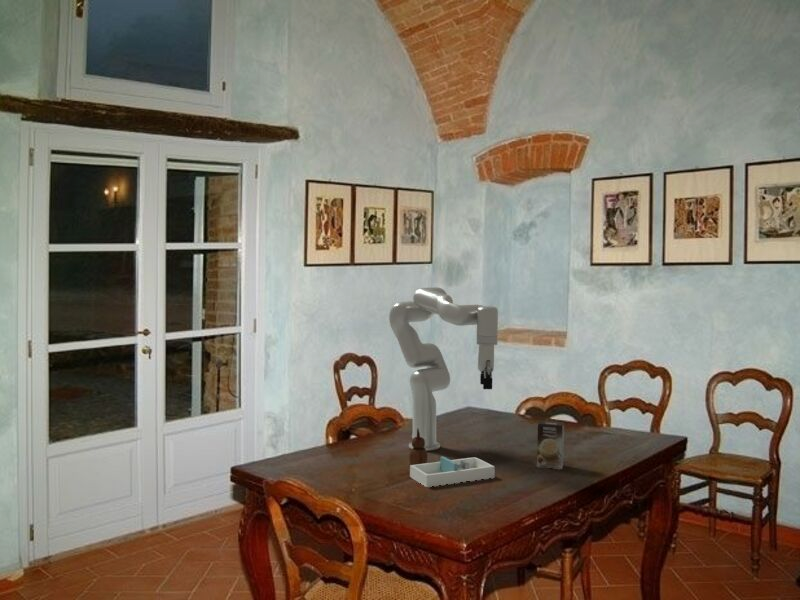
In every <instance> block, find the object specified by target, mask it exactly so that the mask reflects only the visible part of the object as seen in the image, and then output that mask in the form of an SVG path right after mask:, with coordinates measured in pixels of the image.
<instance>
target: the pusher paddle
mask: <svg viewBox="0 0 800 600" xmlns="http://www.w3.org/2000/svg"><path fill="white" fill-rule="evenodd" d="M439 458H440V460H439V462H440V470H441V471H443V472H450V471H457V469H462V470H465V469H469V463H468V462H466V461H464V460H461V464H457V463H455V462H453V461H451V460H452V459H449V458H448V457H447V456H445V455H444V456H440V457H439Z"/></svg>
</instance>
